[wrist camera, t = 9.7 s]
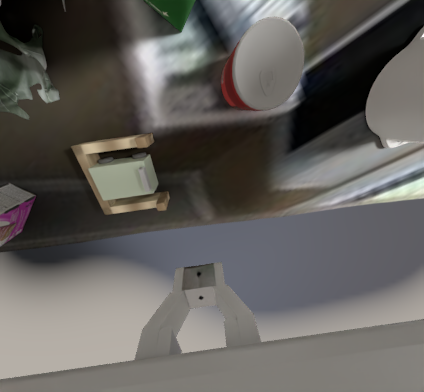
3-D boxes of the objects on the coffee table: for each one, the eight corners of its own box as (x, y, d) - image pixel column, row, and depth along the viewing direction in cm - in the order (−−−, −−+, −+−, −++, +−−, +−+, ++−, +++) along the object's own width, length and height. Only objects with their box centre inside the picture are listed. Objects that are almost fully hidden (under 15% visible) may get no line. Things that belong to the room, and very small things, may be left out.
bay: (152, 132, 30) (144, 136, 25) (169, 197, 36) (166, 209, 31) (84, 142, 29) (64, 148, 25) (113, 205, 35) (101, 219, 31)
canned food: (232, 118, 30) (249, 123, 20) (211, 68, 26) (219, 44, 16) (272, 95, 29) (312, 88, 19) (256, 40, 25) (295, -5, 15)
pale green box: (149, 150, 31) (139, 158, 26) (159, 186, 35) (153, 199, 29) (100, 157, 31) (81, 167, 26) (115, 192, 34) (101, 207, 29)
